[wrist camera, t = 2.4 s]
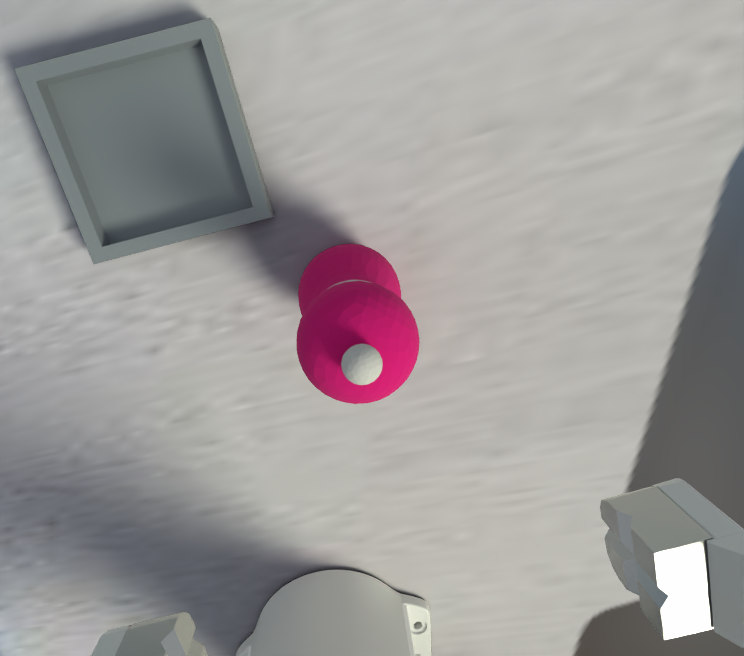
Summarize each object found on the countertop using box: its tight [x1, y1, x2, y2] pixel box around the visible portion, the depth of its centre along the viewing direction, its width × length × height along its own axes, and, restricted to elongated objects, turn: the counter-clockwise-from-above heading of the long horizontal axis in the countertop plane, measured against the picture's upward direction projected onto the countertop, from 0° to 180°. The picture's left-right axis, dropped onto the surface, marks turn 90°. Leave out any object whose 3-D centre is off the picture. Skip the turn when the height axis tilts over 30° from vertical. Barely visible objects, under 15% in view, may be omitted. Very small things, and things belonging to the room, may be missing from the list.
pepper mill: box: [297, 244, 419, 404], centre depth 31 cm, size 7×7×20 cm
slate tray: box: [14, 18, 274, 264], centre depth 36 cm, size 13×13×2 cm
